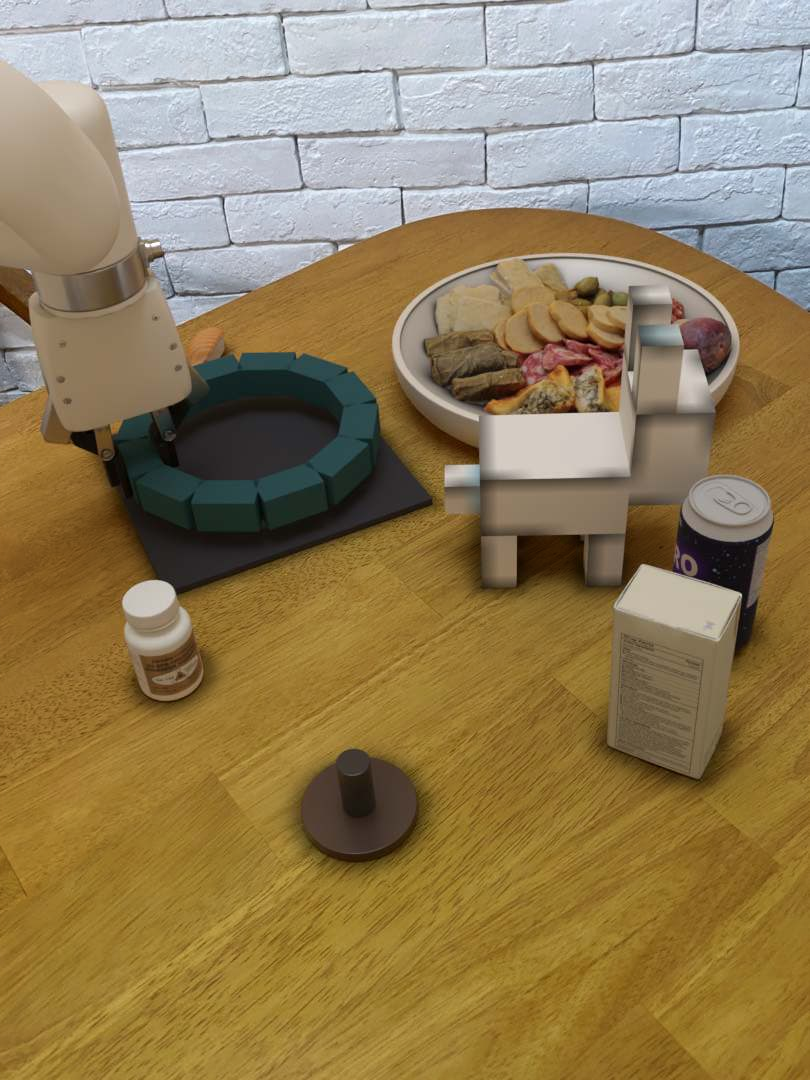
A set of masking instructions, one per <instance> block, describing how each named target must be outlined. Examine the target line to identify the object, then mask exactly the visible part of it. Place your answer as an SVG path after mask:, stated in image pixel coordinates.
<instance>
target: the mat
mask: <svg viewBox="0 0 810 1080" xmlns="http://www.w3.org/2000/svg"><path fill="white" fill-rule="evenodd" d="M339 428H340V424H339V422H338V421H337V420H336V419H335V417H334V416H333V415H332V414H331V412H330V411H329V410H328V409H326V408H323V407H320V406H317V405H315V404H312V403H309V402H306V401H303V400H300V399H298V398H295V397H292V396H266V397H243V398H239V399H236V400H233V401H230V402H226V403H223V404H220V405H217V406H214V407H210V408H207V409H204V410H201V411H199V412H198V413H196V414H195V415H194V416H192V417H191V418H190V419H188V420H187V421H186V422H184V423H183V424H182V425H180V426H179V427H178V428H177V430H176V432H177V436H176V438H175V439H174V444H175V448H176V452H177V457H178V461H179V466H178V467H175V468H174V469H177V470H179V471H182V472H184V473H186V474H189V475H191V476H194V477H196V478H198V479H201V480H258V479H261V478H264V477H267V476H270V475H273V474H276V473H279V472H282V471H285V470H288V469H291V468H294V467H297V466H300V465H303V464H306V463H307V462H308V461H309V460H311V459H312V458H313V457H314V456H315V455H316V454H318V453H319V452H320V451H321V450H322V449H323V448H325V447H326V446H327V445H328V444H329V443H330V442H331V441H333V440H334V439H335V438H336V437H337V436H338V433H339ZM117 433H118V432H116V433H113V434H112V438H113V440H115V438H116V435H117ZM371 469H372V472H371V473H370V474H369V475H368V476H367V477H366V478H365V479H364V480H363V481H362V482H360V483H359V484H358V485H357V486H356V487H355V488H354V489H353V490H352V491H351V492H350V493H349V494H347V495H346V496H345V497H344V498H343V499H342V500H341V501H340V502H339V503H338V504H337V505H334V504H332V503H329V502H327V506H328V510H326V511H323V512H320V513H317V514H314V515H312V516H309V517H306V518H303V519H300V520H297V521H294V522H291V523H289V524H286V525H283V526H280V527H277V528H274V529H271V530H269V528H268V527H267V525H266V523H265V522H264V520H262V524H261V528H260V531H259V532H198V531H197V527H196V524H195V525H194V526H192V527H191V528H190V529H186V528H183V527H181V526H179V525H177V524H174V523H172V522H170V521H168V520H165V519H163V518H161V517H159V516H156V515H154V514H152V513H150V512H147V511H145V510H144V509H143V507H142V504H140V505H138V504H137V502H136V500H135V498H134V496H133V495H132V498H129V499H125V497H124V495H123V493H122V490H121V488H120V486H116V487H115V489H116V491H117V494H118V496H119V498H120V500H121V503H122V504H123V507H124V509H125V510H126V511H125V512H127V515H128V517H129V519H130V521H131V523H132V526H133V528H134V529H135V532H136V534H137V536H138V538H139V541H140V542H141V544H142V547H143V549H144V552H145V553H146V555H147V558H148V559H149V562H150V564H151V566H152V568H153V571H154V572H155V575H156V577H157V580H160V581H164V582H167V583H169V584H170V585H171V586H172V587H173V588H174V590H175V592H176V595H179V594H181V593H185V592H187V591H190V590H194V589H196V588H199V587H201V586H205V585H207V584H209V583H213V582H215V581H218V580H222V579H224V578H227V577H230V576H233V575H236V574H239V573H241V572H244V571H247V570H250V569H253V568H255V567H258V566H261V565H263V564H267V563H270V562H273V561H276V560H278V559H281V558H284V557H287V556H290V555H292V554H295V553H298V552H301V551H303V550H306V549H309V548H312V547H314V546H315V547H316V546H318V545H321V544H323V543H326V542H329V541H332V540H334V539H337V538H340V537H343V536H346V535H349V534H352V533H354V532H357V531H360V530H363V529H366V528H368V527H371V526H374V525H377V524H379V523H382V522H386V521H388V520H391V519H394V518H397V517H400V516H403V515H405V514H408V513H411V512H414V511H416V510H419V509H422V508H425V507H428V506H431V505H433V498H432V496H431V494H429V493H428V491H427V490H426V489H425V488H424V486H423V485H422V484H421V483H420V482H419V480H418V479H417V478H416V477H415V476H414V474H413V473H412V472H411V470H410V469H409V468H408V466H406V465H405V463H404V462H403V461H402V460H401V458H400V457H399V456H398V455H397V453H395V450H393V449H392V447H391V446H390V445H389V444H388V442H386V440H385V439H384V438H383V437H382V435H380V439H379V445H378V452H377V459H376V465H375V466H371Z"/></svg>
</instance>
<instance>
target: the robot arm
mask: <svg viewBox="0 0 810 1080" xmlns="http://www.w3.org/2000/svg"><path fill="white" fill-rule="evenodd" d="M110 117H111V116H110V113H109V110H108V107H107V105H106V102H105V100H104V99H103V97H102V96H101V94H100V93H98V92H97V90H95V88H93V87H92V86H89V85H88V84H85V83H83V82H79V81H75V80H74V81H73V80H65V79H55V80H54V79H53V80H42V81H36V82H35V81H33V80H32V79H31V78H29V77H28V76H26V75H25V74H24V73H22V72H21V71H20V70H18V69H17V68H15V67H14V66H13V65H12V64H10V63H8V62H7V61H6V60H4V59H2V58H0V267H6V268H11V269H12V268H13V269H19V270H23V271H24V270H25V271H30V273H31V278H32V280H33V283H34V286H35V290H36V291H35V292H33V293H32V294H31V295H30V297H28V312H29V320H30V321H29V322H30V329H31V334H32V339H33V343H34V348H35V352H36V357H37V360H38V364H39V368H40V372H41V376H42V379H43V381H44V386H45V389H46V393H47V400H46V402H45V403H46V404H45V406H44V412H43V416H42V419H41V424H40V428H39V431H40V434H41V436H42V438H43V441H44V442H45V443H49V444H56V445H66V446H67V445H68V446H69V445H74V446H75V447H77V448H79V449H81V450H84V451H86V452H89V453H91V454H93V455H96V456H98V457H99V459H100V460H101V461H102V465H103V469H104V471H105V475H106V478H107V481H108V483H109V485H110V488H112V489H113V488H116V486H120V488H121V490H122V493H123V495H124V497H125V499H129V498H132V495H133V491H132V487H131V484H130V480H129V477H128V473H127V468H126V464H125V461H124V458H123V456H122V454H121V452H120V450H119V448H118V446H117V444H116V442H115V440H113V438H112V435H113V434H112V429H111V425H113V424H115V423H119V422H123V420H126V419H129V418H133V417H136V416H139V415H142V414H146V413H150V415H151V418H152V421H153V422H152V423H151V425H149V427H150V429H148V432H149V436H150V440H151V442H152V444H153V446H154V448H155V449H156V451H157V453H158V455H159V457H160V459H161V460H162V461H163V463H164V464H165V465H167V466H170V467H172V468H175V467H178V466H179V461H178V457H177V452H176V448H175V444H174V439H175V438H176V436H177V432H176V430H177V428H178V427H179V425H180V424H181V422H182V421H183V420H184V418H185V417H186V415H187V414H188V412H189V410H190V408H191V407H192V406H195V405H196V404H197V403H198V402H199V401H201V400H202V399H203V398H204V397H205V396H207V395H208V394H209V392H210V387H209V386H208V384H207V383H206V381H205V379H204V378H203V377H202V376H201V375H200V374H199V373H198V372H197V371H196V370H195V369H194V368H193V367H192V366H191V365H190V363H189V361H188V360H187V357H186V354H185V351H184V347H183V344H182V341H181V338H180V335H179V331H178V327H177V325H176V322H175V319H174V317H173V314H172V312H171V308H170V306H169V303H168V299H167V298H166V296H165V294H164V290H163V288H162V286H161V283H160V281H159V279H158V278H157V275H156V274H155V271H154V270H153V268H151V266H150V264H151V263H154V262H155V260H157V259H161V258H164V251H163V246H162V243H161V241H160V240H159V238H155V239H151V240H150V239H143V238H141V236H138V233H137V229H136V223H135V220H134V215H133V212H132V207H131V206H132V205H131V202H130V198H129V193H128V189H127V185H126V180H125V177H124V172H123V168H122V164H121V163H122V162H121V158H120V154H119V151H118V150H119V149H118V146H117V143H116V137H115V133H114V129H113V125H112V121H111V118H110Z"/></svg>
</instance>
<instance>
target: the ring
mask: <svg viewBox="0 0 810 1080" xmlns="http://www.w3.org/2000/svg"><path fill="white" fill-rule="evenodd" d="M192 367H193V368H194V369H195V370H196V371H197V372H198V373H199V374H200V375H201V376H202V377H203V378H204V379H205V381H206V383H207V384H208V386H209V387H210V392H209V394H208V395H207V396H205V397H204V398H203V399H202V400H201V401H199V402H198V403H197V404H196V405H195V406H192V407H191V408H190V410H189V412H188V414H187V415H186V417H185V418H184V420H183V421H182V422H181V424H180V425H182V424H183V423H184V422H186V421H187V420H188V419H190V418H191V417H192V416H194V415H195V414H196V413H198V412H199V411H201V410H204V409H207V408H210V407H214V406H217V405H220V404H223V403H226V402H230V401H233V400H236V399H239V398H243V397H266V396H292V397H295V398H298V399H300V400H303V401H306V402H309V403H312V404H315V405H317V406H320V407H323V408H326V409H328V410H329V411H330V412H331V414H332V415H333V416H334V417H335V419H336V420H337V421H338V422H339V424H340V428H339V433H338V436H337V437H336V438H335V439H334V440H333V441H331V442H330V443H329V444H328V445H327V446H326V447H325V448H323V449H322V450H321V451H320V452H319V453H318V454H316V455H315V456H314V457H313V458H312V459H311V460H309V461H308V462H307V463H306V464H303V465H300V466H297V467H294V468H291V469H288V470H285V471H282V472H279V473H276V474H273V475H270V476H267V477H264V478H261V479H258V480H201V479H198V478H196V477H194V476H191V475H189V474H186V473H184V472H182V471H179V470H177V469H174V468H172V467H170V466H167V465H165V464H164V463H163V461H162V460H161V459H160V457H159V455H158V453H157V451H156V449H155V448H154V446H153V444H152V442H151V440H150V436H149V432H148V429H150V427H149V425H151V423H152V422H153V421H152V418H151V415H150V413H146V414H142V415H139V416H136V417H133V418H129V419H126V420H123V421H121V424H120V426H119V429H118V431H117V432H116V433H117V435H116V438H115V442H116V444H117V446H118V448H119V450H120V452H121V454H122V456H123V458H124V461H125V464H126V468H127V473H128V477H129V480H130V484H131V487H132V491H133V496H134V498H135V500H136V502H137V504H138V505H140V504H142V507H143V509H144V510H145V511H147V512H150V513H152V514H154V515H156V516H159V517H161V518H163V519H165V520H168V521H170V522H172V523H174V524H177V525H179V526H181V527H183V528H186V529H190V528H191V527H192V526H194V525H195V524H196V527H197V531H198V532H259V531H260V528H261V524H262V520H264V522H265V523H266V525H267V527H268V528H269V530H271V529H274V528H277V527H280V526H283V525H286V524H289V523H291V522H294V521H297V520H300V519H303V518H306V517H309V516H312V515H314V514H317V513H320V512H323V511H326V510H328V506H327V502H329V503H332V504H334V505H337V504H338V503H339V502H340V501H341V500H342V499H343V498H344V497H345V496H346V495H347V494H349V493H350V492H351V491H352V490H353V489H354V488H355V487H356V486H357V485H358V484H359V483H360V482H362V481H363V480H364V479H365V478H366V477H367V476H368V475H369V474H370V473H371V472H372V469H371V466H375V465H376V459H377V452H378V445H379V439H380V436H381V432H382V430H381V429H382V427H381V419H380V418H381V417H380V408H379V407H380V406H379V404H378V400H377V397H376V395H374V394H373V392H372V391H371V390H370V388H369V387H368V386H367V385H366V384H365V383H364V382H363V381H362V380H361V378H360V377H359V376H358V375H357V374H356V373H355V371H354V370H352V371H348V370H349V369H348V367H346V366H345V365H341V364H339V363H335V362H332V361H329V360H325V359H323V358H319V357H316V356H315V355H314V356H313V355H311V354H307V353H302V354H301V355H299V356H298V357H297V353H296V351H276V352H273V351H271V352H269V351H268V352H267V351H265V352H264V351H263V352H262V351H261V352H241V354H240V357H239V360H238V359H237V358H236V356H235V355H234V354H232V353H231V354H228V355H225V356H221V357H220V358H218V359H215V360H211V361H208V362H205V363H201V364H198V365H195V366H192ZM180 425H179V426H180Z"/></svg>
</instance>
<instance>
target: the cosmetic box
mask: <svg viewBox="0 0 810 1080" xmlns="http://www.w3.org/2000/svg"><path fill="white" fill-rule="evenodd" d="M741 600H742V594H741V593H739V592H736V591H733V590H730V589H727V588H724V587H721V586H718V585H715V584H712V583H708V582H705V581H702V580H698V579H695V578H691V577H688V576H685V575H681V574H677V573H674V572H672V570H671V571H670V570H668V569H667V570H666V569H664V568H660V567H656V566H652V565H648V564H645V563H642V564H640V565H639V567H638V568H637V570H636V572H635V573H634V574H633V575H632V577H631V578H630V579H629V581H628V582H627V584H626V586H625V587H624V589H623V590H622V592H621V593H620V595H619V596H618V598H617V599H616V601H615V602H614V605H613V610H612V635H611V652H610V653H611V654H610V655H611V656H610V675H609V697H608V711H607V712H608V715H607V717H608V718H607V719H608V720H607V734H606V735H607V737H606V744H607V746H608V747H610V748H613V749H615V750H618V751H620V752H623V753H625V754H626V755H629V756H632V757H635V758H637V759H640V760H643V761H645V762H649V763H652V764H654V765H656V766H659V767H662V768H664V769H667V770H670V771H673V772H676V773H679V774H681V775H684V776H687V777H690V778H693V779H695V780H700V779H701V777H702V776H703V774H704V773H705V770H706V769H707V767H708V765H709V762H710V760H711V758H712V756H713V754H714V752H715V750H716V748H717V745H718V743H719V741H720V738H721V736H722V734H723V726H724V722H725V721H724V720H725V713H726V707H727V701H728V694H729V687H730V681H731V673H732V667H733V661H734V655H735V652H734V649H735V642H736V635H737V629H738V621H739V614H740V608H741Z"/></svg>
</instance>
